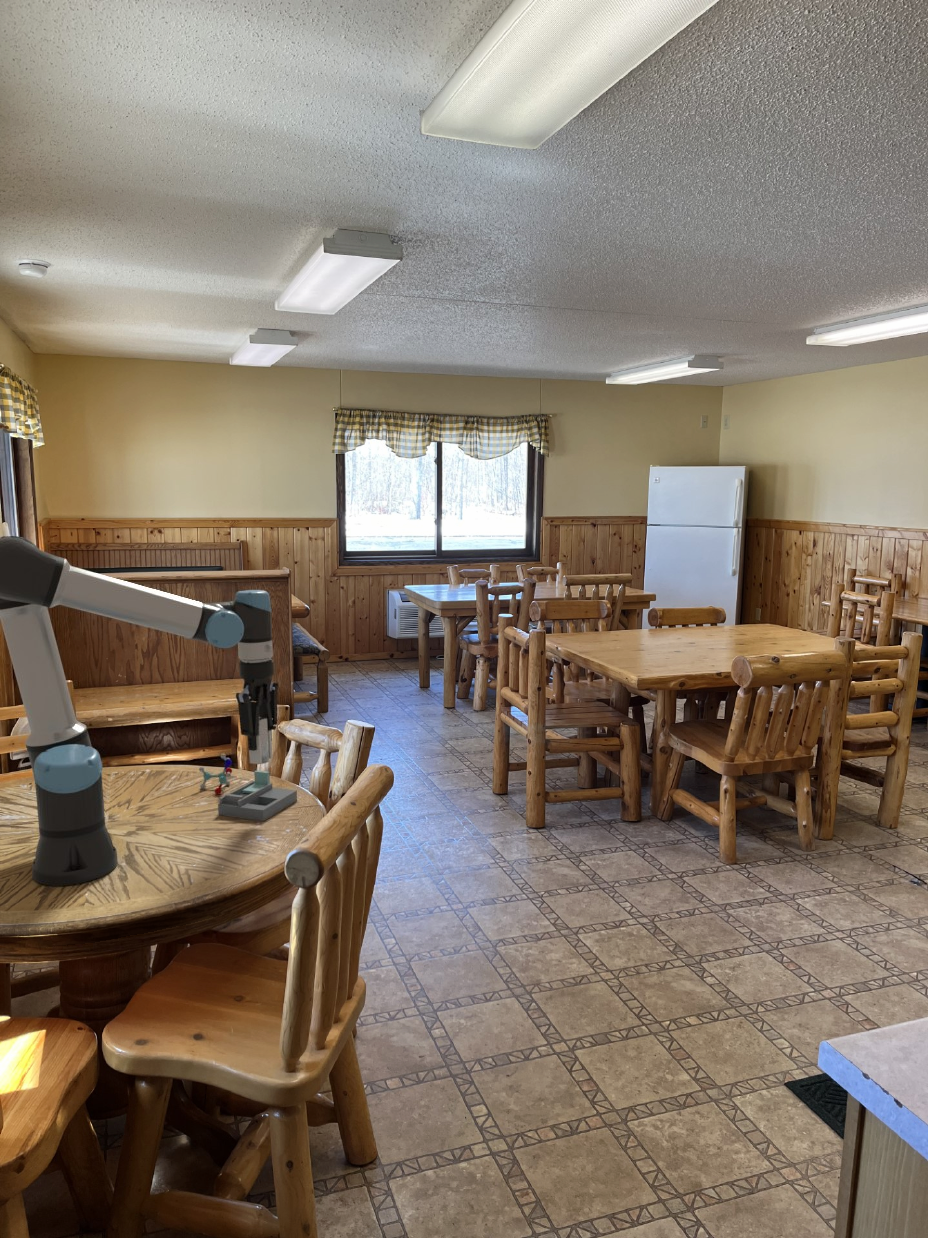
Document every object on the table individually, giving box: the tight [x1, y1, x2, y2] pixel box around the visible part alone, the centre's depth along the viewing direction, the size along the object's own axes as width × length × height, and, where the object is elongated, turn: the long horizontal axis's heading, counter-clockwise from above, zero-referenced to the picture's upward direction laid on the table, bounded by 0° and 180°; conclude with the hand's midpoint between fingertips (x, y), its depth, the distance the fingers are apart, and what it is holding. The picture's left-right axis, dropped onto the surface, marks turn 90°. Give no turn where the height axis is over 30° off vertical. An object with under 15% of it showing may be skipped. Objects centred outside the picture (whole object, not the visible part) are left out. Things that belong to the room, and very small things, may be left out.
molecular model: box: [198, 753, 233, 795], centre depth 213 cm, size 12×10×10 cm
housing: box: [217, 780, 298, 822], centre depth 200 cm, size 14×12×4 cm
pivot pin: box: [258, 716, 270, 765], centre depth 196 cm, size 4×4×10 cm
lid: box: [243, 769, 271, 794], centre depth 205 cm, size 6×4×4 cm, turn 159°
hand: (261, 760), depth 196 cm, fingers closed on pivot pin, 3 cm apart
